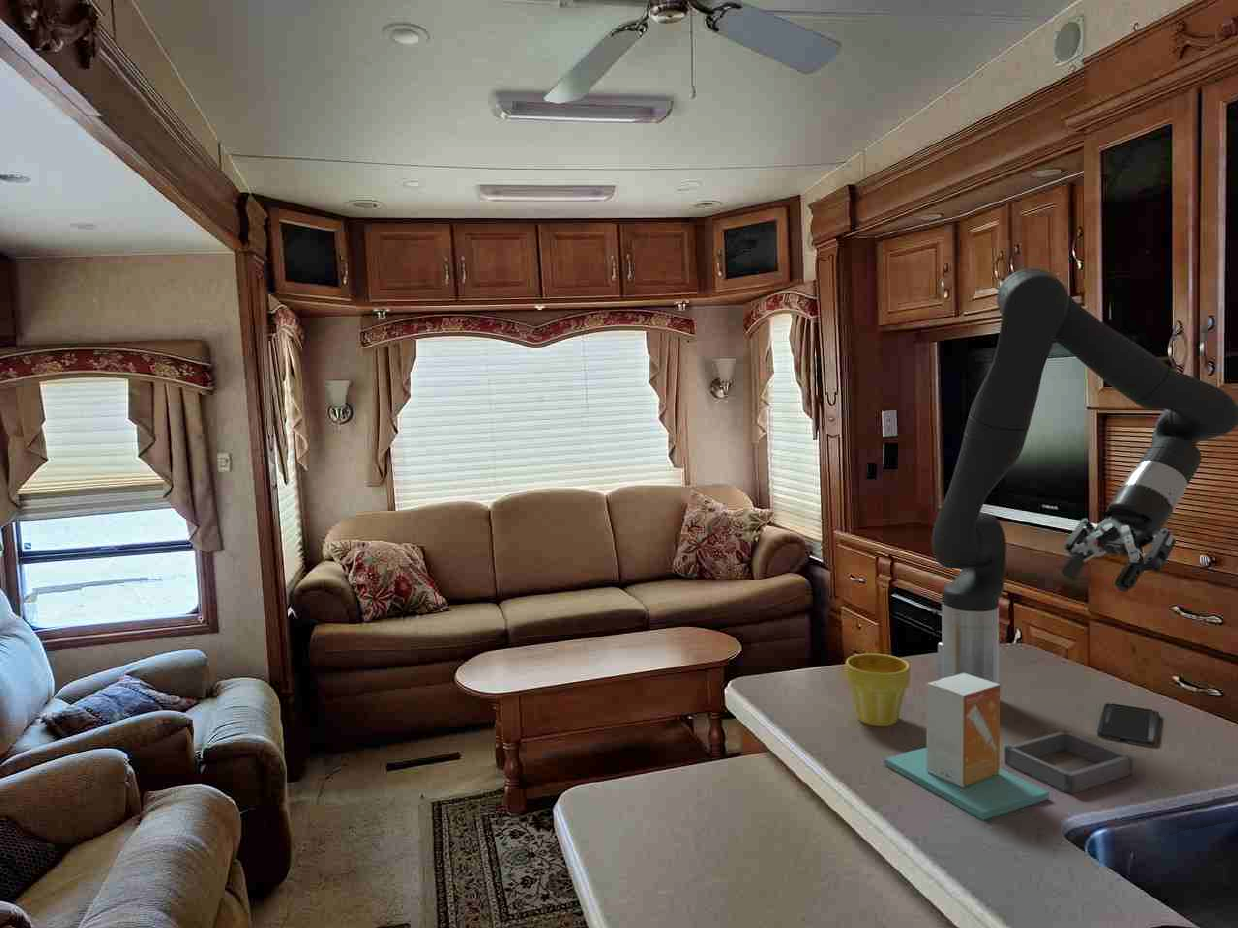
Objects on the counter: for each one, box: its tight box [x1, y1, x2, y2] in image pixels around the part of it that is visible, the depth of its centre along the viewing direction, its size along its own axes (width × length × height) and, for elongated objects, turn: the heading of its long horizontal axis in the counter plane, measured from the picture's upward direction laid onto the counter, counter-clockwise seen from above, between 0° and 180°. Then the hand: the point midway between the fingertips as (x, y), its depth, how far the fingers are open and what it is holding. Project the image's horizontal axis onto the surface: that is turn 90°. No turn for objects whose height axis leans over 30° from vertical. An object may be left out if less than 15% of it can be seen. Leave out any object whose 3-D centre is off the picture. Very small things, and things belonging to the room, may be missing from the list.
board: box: [883, 747, 1050, 821], centre depth 115 cm, size 18×12×1 cm, turn 24°
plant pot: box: [844, 653, 911, 727], centre depth 138 cm, size 10×10×10 cm
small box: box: [925, 673, 1002, 788], centre depth 115 cm, size 8×6×13 cm
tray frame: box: [1004, 730, 1133, 795], centre depth 118 cm, size 11×13×2 cm
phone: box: [1096, 702, 1160, 748], centre depth 132 cm, size 8×1×15 cm
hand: (1092, 582), depth 119 cm, fingers open, 8 cm apart
